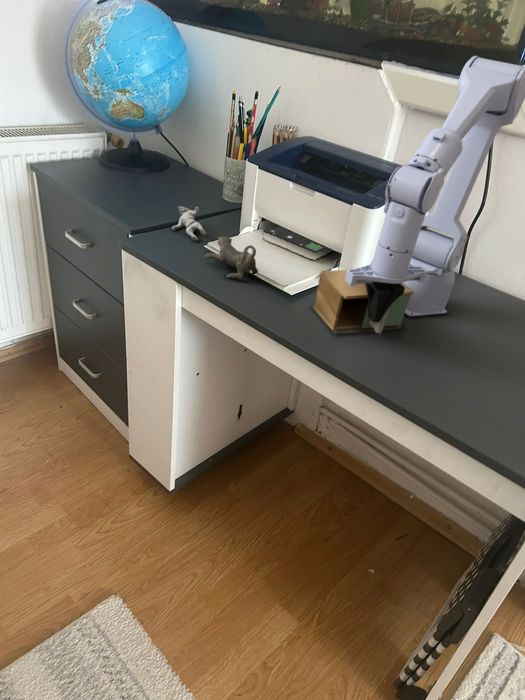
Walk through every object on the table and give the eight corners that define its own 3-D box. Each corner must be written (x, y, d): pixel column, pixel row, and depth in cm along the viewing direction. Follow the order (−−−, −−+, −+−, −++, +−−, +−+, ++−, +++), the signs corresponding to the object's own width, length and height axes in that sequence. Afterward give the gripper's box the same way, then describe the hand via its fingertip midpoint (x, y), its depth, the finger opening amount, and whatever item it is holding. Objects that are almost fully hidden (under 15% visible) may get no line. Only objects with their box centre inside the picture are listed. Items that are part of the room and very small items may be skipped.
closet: (374, 303, 105) (385, 268, 100) (401, 328, 98) (414, 291, 93) (312, 308, 99) (321, 270, 95) (336, 335, 92) (346, 296, 88)
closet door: (398, 322, 98) (408, 293, 95) (410, 334, 95) (421, 304, 92) (361, 326, 95) (370, 295, 91) (372, 338, 92) (382, 307, 89)
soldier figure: (180, 246, 116) (160, 211, 122) (192, 255, 121) (172, 221, 126) (208, 224, 115) (186, 190, 120) (218, 234, 119) (197, 201, 125)
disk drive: (260, 240, 123) (314, 262, 117) (262, 229, 122) (316, 250, 115) (285, 231, 131) (336, 250, 124) (287, 220, 129) (339, 239, 123)
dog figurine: (261, 280, 106) (267, 246, 102) (240, 286, 102) (245, 251, 98) (223, 257, 112) (226, 224, 108) (202, 262, 109) (205, 228, 105)
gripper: (418, 234, 89) (395, 304, 96) (344, 235, 83) (326, 310, 91) (444, 252, 83) (418, 325, 91) (367, 255, 78) (345, 332, 85)
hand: (373, 319), depth 90 cm, fingers closed
